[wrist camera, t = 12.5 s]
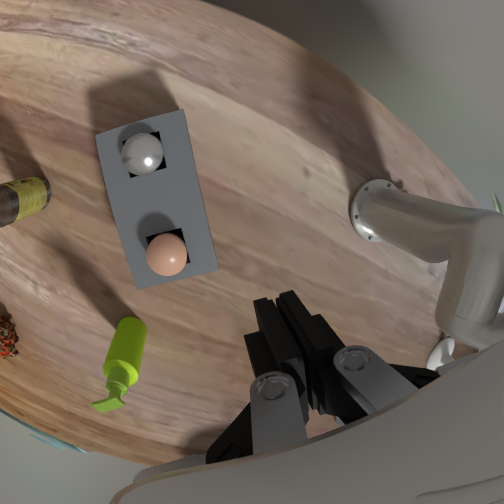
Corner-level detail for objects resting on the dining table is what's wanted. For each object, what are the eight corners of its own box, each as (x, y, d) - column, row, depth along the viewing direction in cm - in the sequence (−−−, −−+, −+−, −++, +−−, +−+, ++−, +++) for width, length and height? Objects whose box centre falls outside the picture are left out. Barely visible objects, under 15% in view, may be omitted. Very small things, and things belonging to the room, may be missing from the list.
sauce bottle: (47, 170, 38) (-24, 183, 20) (56, 203, 41) (-10, 232, 22) (22, 184, 38) (-49, 203, 19) (31, 215, 40) (-35, 248, 21)
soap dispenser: (108, 325, 49) (80, 397, 31) (135, 311, 50) (114, 386, 31) (125, 347, 52) (106, 422, 33) (152, 335, 52) (141, 412, 33)
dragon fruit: (16, 306, 46) (16, 339, 49) (-16, 304, 39) (-12, 338, 43) (20, 337, 41) (21, 368, 45) (-15, 336, 34) (-9, 368, 38)
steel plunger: (164, 133, 38) (157, 128, 31) (171, 167, 39) (166, 168, 32) (130, 143, 37) (117, 140, 30) (138, 176, 39) (126, 180, 32)
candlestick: (423, 357, 72) (482, 416, 44) (451, 330, 71) (513, 381, 43) (428, 375, 76) (479, 429, 48) (454, 350, 76) (507, 398, 48)
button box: (185, 119, 41) (183, 108, 32) (214, 248, 49) (219, 269, 39) (115, 139, 40) (94, 135, 30) (147, 264, 47) (137, 289, 38)
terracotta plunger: (183, 219, 41) (180, 231, 34) (191, 252, 43) (191, 270, 36) (149, 227, 40) (140, 242, 34) (159, 260, 42) (153, 279, 35)
